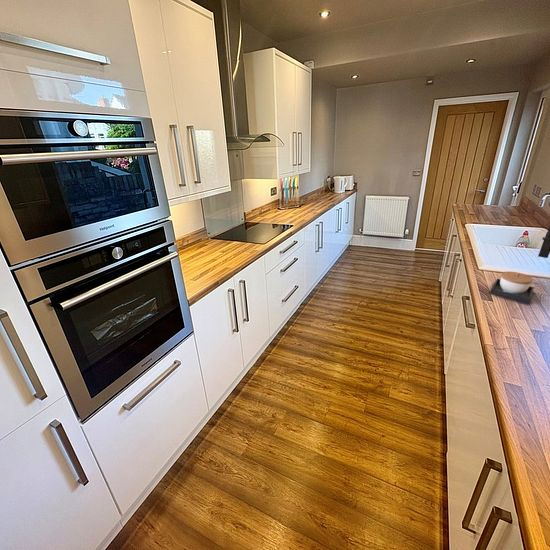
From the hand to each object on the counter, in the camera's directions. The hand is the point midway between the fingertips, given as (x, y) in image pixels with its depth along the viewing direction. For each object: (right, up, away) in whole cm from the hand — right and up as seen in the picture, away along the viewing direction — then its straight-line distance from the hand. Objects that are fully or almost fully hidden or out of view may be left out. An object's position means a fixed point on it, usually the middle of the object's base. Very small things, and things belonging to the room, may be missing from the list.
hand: (544, 252), depth 112 cm
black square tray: (+2, -17, +19) cm, 25 cm away
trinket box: (+2, -16, +19) cm, 25 cm away
